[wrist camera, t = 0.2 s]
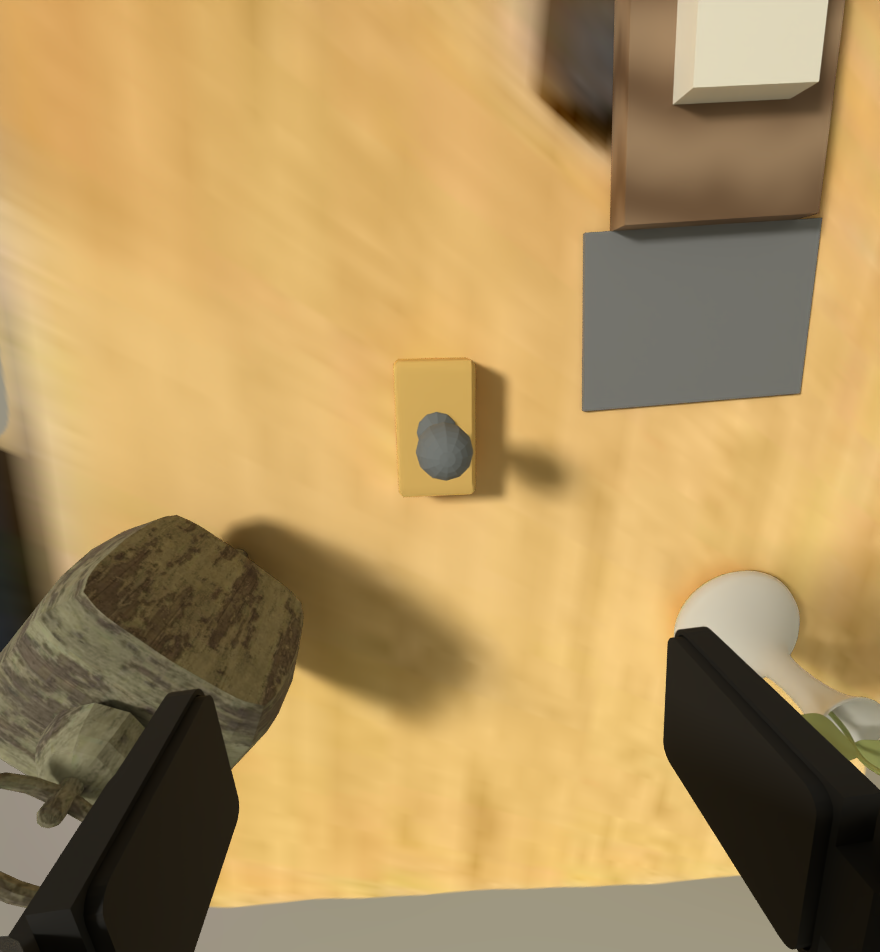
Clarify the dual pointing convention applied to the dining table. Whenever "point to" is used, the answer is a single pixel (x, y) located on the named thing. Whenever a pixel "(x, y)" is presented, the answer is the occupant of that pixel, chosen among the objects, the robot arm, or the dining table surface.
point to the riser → (709, 136)
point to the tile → (747, 49)
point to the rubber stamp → (435, 426)
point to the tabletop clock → (138, 662)
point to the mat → (696, 312)
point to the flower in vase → (782, 656)
